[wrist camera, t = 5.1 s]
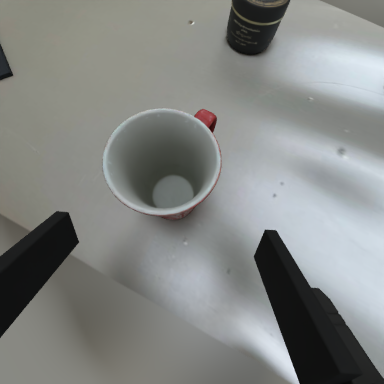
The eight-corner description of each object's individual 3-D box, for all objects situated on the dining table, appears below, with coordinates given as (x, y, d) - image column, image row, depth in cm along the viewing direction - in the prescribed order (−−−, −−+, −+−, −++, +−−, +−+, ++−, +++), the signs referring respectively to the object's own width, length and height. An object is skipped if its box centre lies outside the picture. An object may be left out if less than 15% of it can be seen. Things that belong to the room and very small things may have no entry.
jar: (262, 63, 34) (285, 15, 26) (217, 47, 34) (227, -5, 27) (275, 33, 36) (298, -19, 29) (233, 18, 37) (245, -37, 29)
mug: (179, 239, 24) (173, 243, 11) (131, 203, 25) (74, 166, 12) (225, 174, 27) (265, 116, 14) (181, 144, 28) (179, 64, 15)
